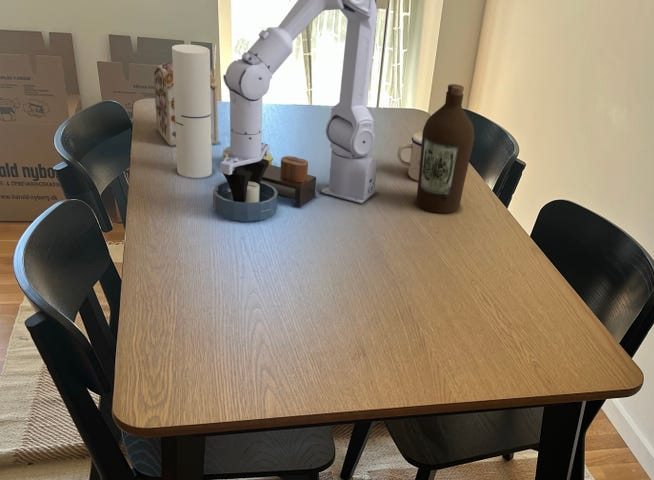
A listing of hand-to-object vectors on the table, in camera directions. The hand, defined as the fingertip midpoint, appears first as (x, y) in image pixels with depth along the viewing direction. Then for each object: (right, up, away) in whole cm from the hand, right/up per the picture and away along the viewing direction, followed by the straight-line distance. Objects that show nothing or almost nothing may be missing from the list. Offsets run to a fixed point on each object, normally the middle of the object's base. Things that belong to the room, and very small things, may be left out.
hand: (245, 199), depth 146 cm
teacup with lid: (+35, +11, +29) cm, 47 cm away
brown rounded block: (+8, +6, +7) cm, 12 cm away
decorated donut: (-4, +12, +21) cm, 24 cm away
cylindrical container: (-14, +9, +15) cm, 22 cm away
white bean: (0, 0, 0) cm, 0 cm away
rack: (+4, +3, +10) cm, 11 cm away
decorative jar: (-20, +21, +32) cm, 43 cm away
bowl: (0, -2, +1) cm, 2 cm away
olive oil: (+38, +2, +16) cm, 41 cm away
